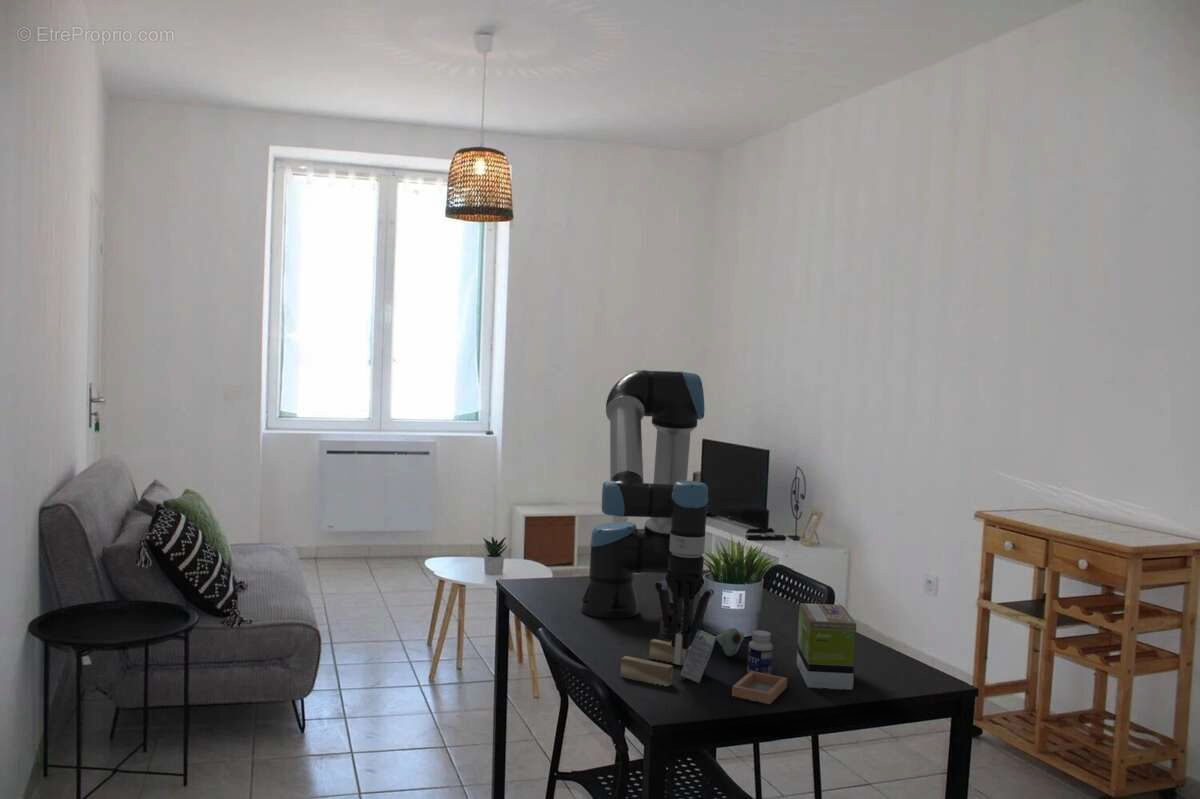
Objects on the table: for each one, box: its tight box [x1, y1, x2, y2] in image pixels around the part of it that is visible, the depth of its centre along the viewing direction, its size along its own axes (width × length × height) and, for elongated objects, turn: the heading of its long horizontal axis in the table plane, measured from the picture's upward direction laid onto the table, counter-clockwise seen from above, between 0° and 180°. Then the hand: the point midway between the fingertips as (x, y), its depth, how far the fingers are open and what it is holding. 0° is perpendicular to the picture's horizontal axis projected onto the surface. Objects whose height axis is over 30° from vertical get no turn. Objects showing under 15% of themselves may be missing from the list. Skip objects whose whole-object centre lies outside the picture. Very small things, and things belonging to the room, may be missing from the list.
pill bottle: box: [746, 630, 774, 675], centre depth 221 cm, size 5×5×9 cm
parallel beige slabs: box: [620, 638, 691, 687], centre depth 219 cm, size 17×11×4 cm, turn 153°
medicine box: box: [680, 629, 717, 684], centre depth 215 cm, size 8×4×9 cm, turn 168°
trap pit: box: [731, 671, 788, 705], centre depth 209 cm, size 12×8×2 cm, turn 153°
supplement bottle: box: [658, 598, 684, 642], centre depth 236 cm, size 6×6×11 cm
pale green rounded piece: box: [715, 627, 746, 657], centre depth 231 cm, size 8×4×7 cm, turn 121°
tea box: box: [796, 602, 857, 691], centre depth 220 cm, size 15×10×15 cm, turn 178°
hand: (679, 662), depth 216 cm, fingers closed
